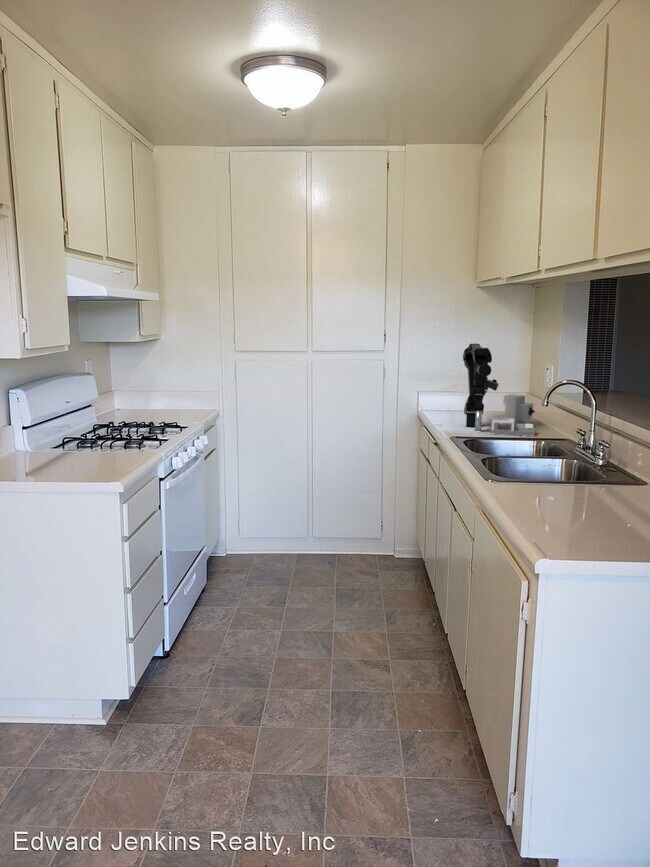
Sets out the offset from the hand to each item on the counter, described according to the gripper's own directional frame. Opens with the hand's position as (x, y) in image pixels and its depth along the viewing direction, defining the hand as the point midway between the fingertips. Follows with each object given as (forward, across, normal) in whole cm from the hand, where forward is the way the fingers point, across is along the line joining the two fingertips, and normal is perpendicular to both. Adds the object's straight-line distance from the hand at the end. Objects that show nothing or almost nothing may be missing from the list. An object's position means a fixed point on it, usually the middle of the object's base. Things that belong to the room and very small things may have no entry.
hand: (479, 406), depth 312 cm
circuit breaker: (+12, +23, -18) cm, 32 cm away
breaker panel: (+12, +1, -16) cm, 20 cm away
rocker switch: (+9, +1, -23) cm, 25 cm away
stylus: (+12, 0, 0) cm, 12 cm away
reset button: (+10, +1, -11) cm, 15 cm away
